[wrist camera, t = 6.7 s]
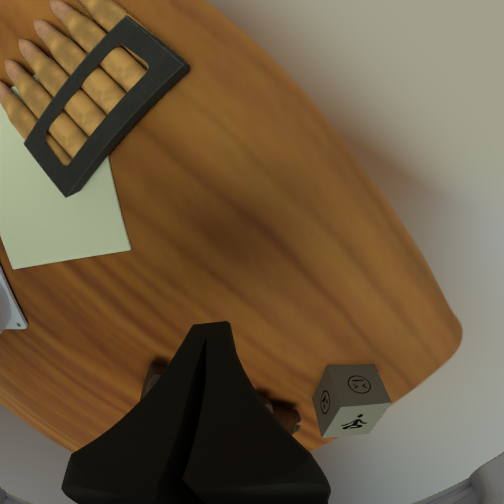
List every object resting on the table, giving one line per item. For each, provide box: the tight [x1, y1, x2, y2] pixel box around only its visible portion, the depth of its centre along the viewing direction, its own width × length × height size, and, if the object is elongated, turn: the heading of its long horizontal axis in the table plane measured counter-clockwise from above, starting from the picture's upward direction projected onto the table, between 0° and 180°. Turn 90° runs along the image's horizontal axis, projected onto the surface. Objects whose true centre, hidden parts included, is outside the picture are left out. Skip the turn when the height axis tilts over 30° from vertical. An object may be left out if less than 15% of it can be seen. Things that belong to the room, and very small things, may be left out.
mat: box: [0, 52, 131, 269], centre depth 17 cm, size 12×14×1 cm
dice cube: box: [312, 365, 392, 438], centre depth 26 cm, size 5×5×5 cm
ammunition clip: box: [0, 0, 190, 198], centre depth 14 cm, size 11×2×12 cm
